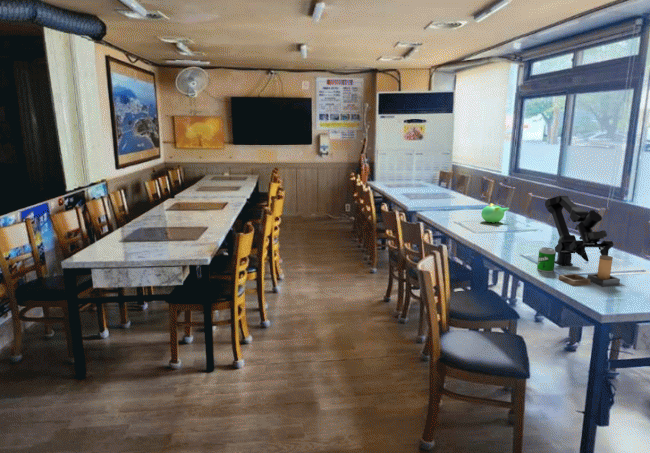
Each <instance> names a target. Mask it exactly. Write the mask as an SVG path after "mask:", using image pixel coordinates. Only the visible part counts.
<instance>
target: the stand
mask: <svg viewBox="0 0 650 453" xmlns="http://www.w3.org/2000/svg"><path fill="white" fill-rule="evenodd" d="M557 280H558V281H560V282H563V283H565V284H568V285H570V286H573V287H577V286H589V285H592V283H591V282H590V279H587V277H584V276H582V275H580V274H577V273H569V274H568V273H567V274H559V275H558V278H557Z"/></svg>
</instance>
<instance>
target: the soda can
mask: <svg viewBox="0 0 650 453" xmlns="http://www.w3.org/2000/svg"><path fill="white" fill-rule="evenodd" d="M556 254H557V252H556V251H555V248H552V247H541V248H540V249H538V257H537V264H536V265H537V267H536V270H537V271H539V272H542V273H553V272H554V271H555V261H556Z"/></svg>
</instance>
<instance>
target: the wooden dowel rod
mask: <svg viewBox="0 0 650 453" xmlns="http://www.w3.org/2000/svg"><path fill="white" fill-rule="evenodd" d="M613 259H614V258H613V256H611V255H608V256H607V255H601V254H600V255H599V258H598V267H597V273H596V274H597V277H598V278H601V279H603V280H604V279H610V276H611V272H612V266H613Z"/></svg>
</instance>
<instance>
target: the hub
mask: <svg viewBox="0 0 650 453" xmlns="http://www.w3.org/2000/svg"><path fill="white" fill-rule="evenodd" d="M586 276H587V277H586V278H587V279H590V284H595V285H596V286H599V287H602V288H609V287H620V286H621V287H622V286H624V283H621V279H620V278H619V277H615V276H612V275H610V279H604V280H603V279H601V278H598V277H597V273H588V274H587V275H586Z"/></svg>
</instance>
